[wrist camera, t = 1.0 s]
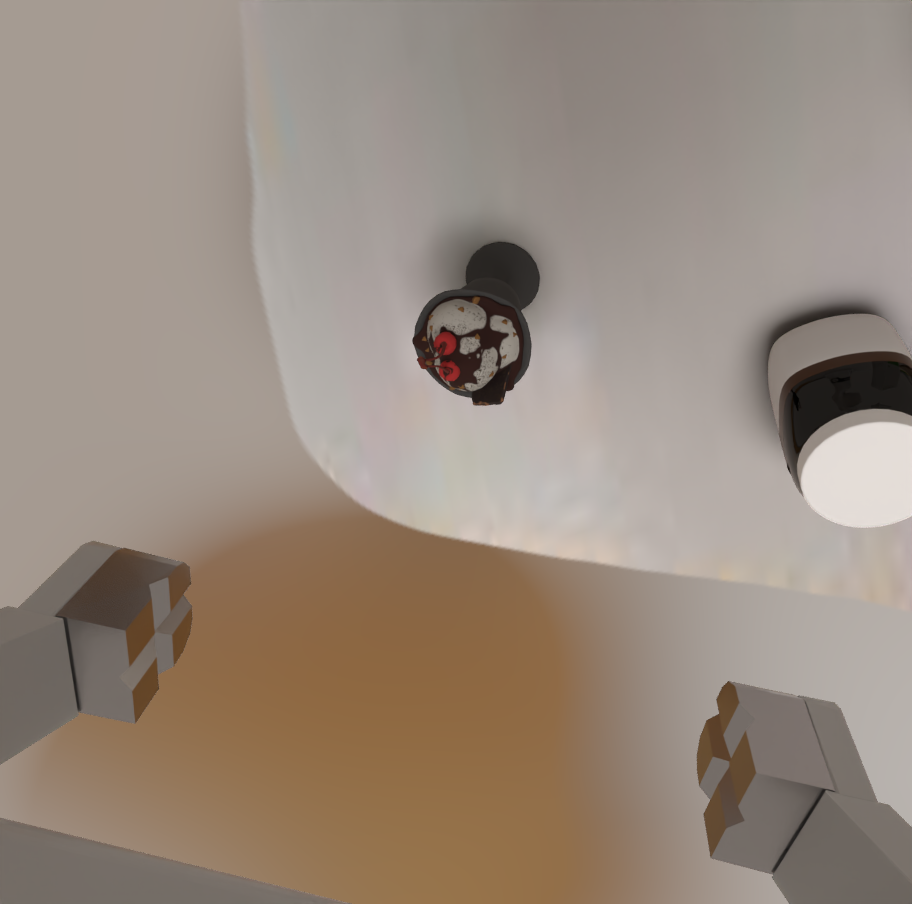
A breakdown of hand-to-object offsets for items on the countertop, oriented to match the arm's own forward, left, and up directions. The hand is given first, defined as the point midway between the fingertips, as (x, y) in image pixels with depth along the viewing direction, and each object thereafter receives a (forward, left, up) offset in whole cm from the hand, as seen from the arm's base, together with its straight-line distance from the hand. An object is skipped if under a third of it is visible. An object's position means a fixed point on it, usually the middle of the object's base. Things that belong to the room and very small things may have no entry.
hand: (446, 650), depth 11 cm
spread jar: (+13, +19, -39) cm, 46 cm away
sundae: (+10, -5, -39) cm, 41 cm away
